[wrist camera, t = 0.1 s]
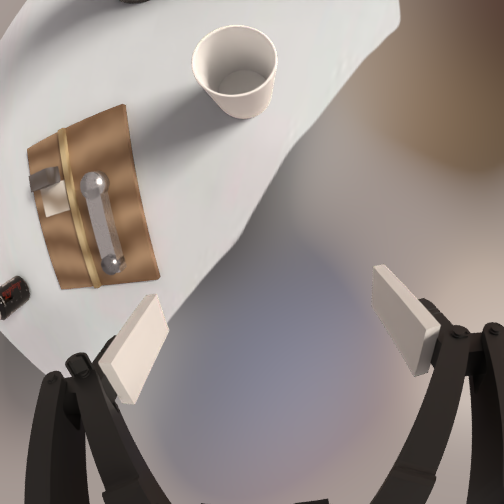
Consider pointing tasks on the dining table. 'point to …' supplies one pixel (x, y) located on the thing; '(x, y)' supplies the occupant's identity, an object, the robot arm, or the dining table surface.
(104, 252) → the bar
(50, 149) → the door board
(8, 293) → the beverage can
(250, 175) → the dining table surface
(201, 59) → the cup
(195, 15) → the dining table surface
